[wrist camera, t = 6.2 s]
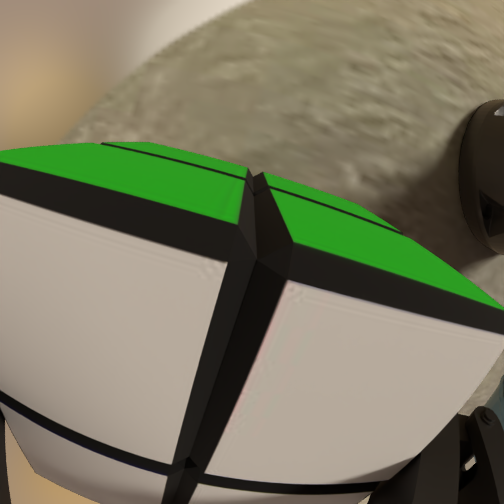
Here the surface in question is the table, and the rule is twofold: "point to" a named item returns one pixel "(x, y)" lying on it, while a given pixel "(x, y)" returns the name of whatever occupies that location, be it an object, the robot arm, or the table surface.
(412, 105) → the table surface
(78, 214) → the puzzle cube
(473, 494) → the robot arm
